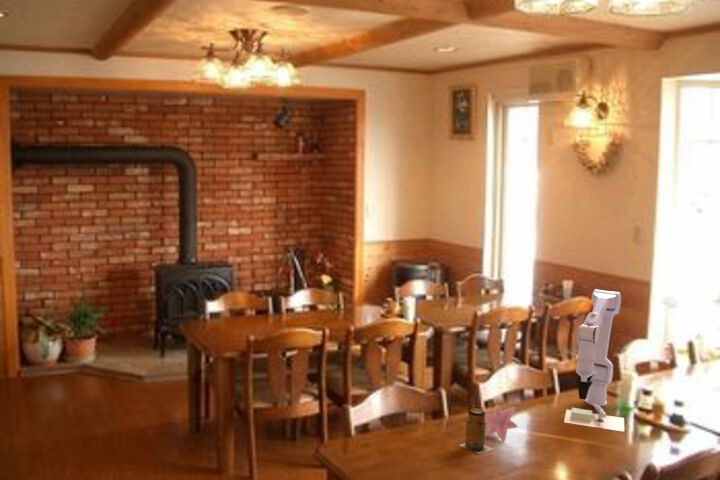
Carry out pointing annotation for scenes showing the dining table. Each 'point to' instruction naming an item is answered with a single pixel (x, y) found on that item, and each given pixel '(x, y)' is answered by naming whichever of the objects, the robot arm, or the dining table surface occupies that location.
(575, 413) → the cover
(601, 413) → the t key
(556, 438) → the dining table surface
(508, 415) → the lily
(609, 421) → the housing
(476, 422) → the condiment
